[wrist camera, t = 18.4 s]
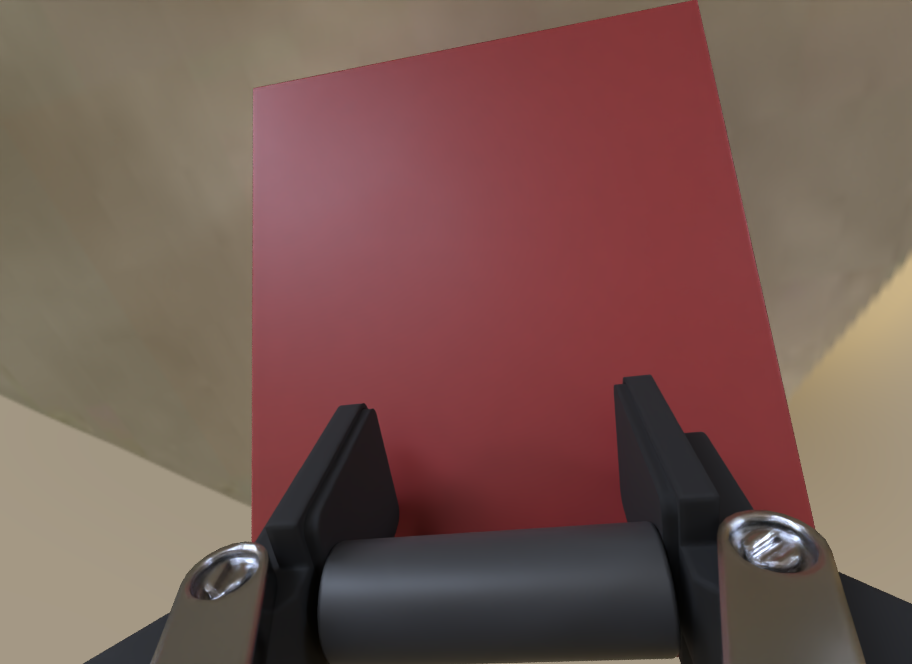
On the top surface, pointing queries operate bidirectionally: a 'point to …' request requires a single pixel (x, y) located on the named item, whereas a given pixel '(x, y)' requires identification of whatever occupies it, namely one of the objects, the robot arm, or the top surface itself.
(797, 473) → the lid
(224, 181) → the top surface
